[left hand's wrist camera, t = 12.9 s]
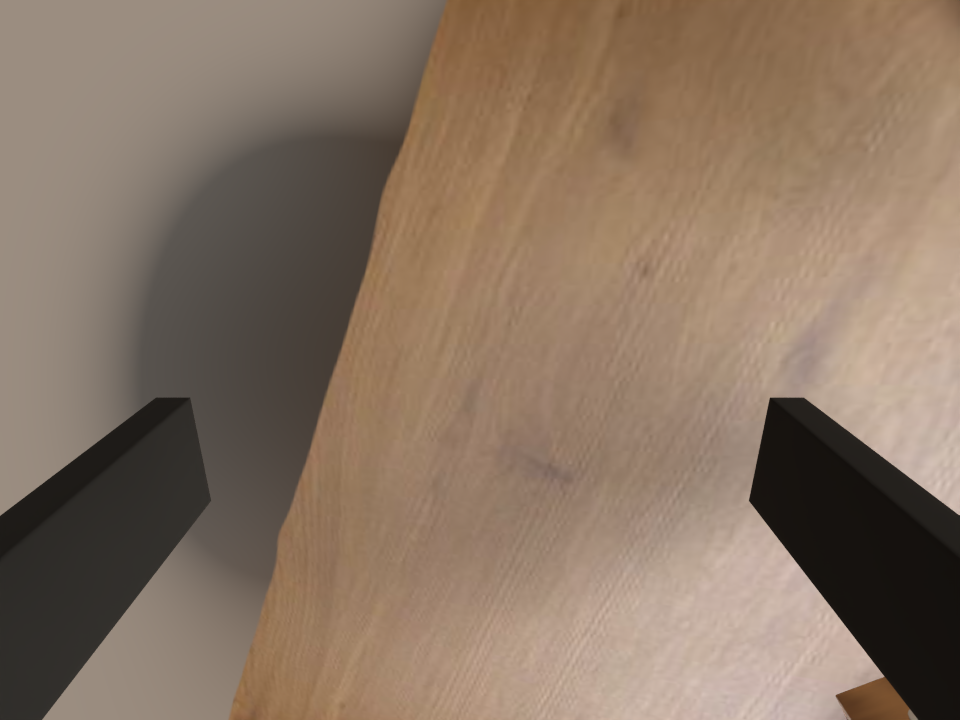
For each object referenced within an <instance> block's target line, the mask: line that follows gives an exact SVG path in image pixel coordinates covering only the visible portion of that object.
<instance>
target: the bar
mask: <svg viewBox="0 0 960 720" xmlns="http://www.w3.org/2000/svg"><path fill="white" fill-rule="evenodd" d="M836 698H837V700H838V702H839V704H840V706H841V708H842V710H843V712H844V714H845V716H846V718H847V720H910V719H909V716H908V711H909V710H910V709H909V707H908V706H907V705H906V703H905V702H904V701H903V700H902V698H901V697H900V696H899V694H898V693H897V692H896V691H895V689H894V688H893V687H892V685H891V684H890V683H889V681H888V680H887V679H886V678H885V677H883V678H880V679H878V680H875V681H872V682H870V683H867V684H864V685H862V686H859V687H856V688H853V689H851V690H848V691H845V692H843V693H840V694H837V695H836Z"/></svg>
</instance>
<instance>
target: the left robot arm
mask: <svg viewBox="0 0 960 720" xmlns="http://www.w3.org/2000/svg"><path fill="white" fill-rule="evenodd" d="M210 501H211V498H210V494H209V489H208V484H207V479H206V474H205V469H204V464H203V459H202V454H201V449H200V444H199V440H198V435H197V430H196V425H195V420H194V415H193V410H192V405H191V400H190V398H155V399H154V400H153V401H151V402H150V403H149V404H147V405H146V406H145V407H143V408H142V409H141V410H139V411H138V412H137V413H135V414H134V415H133V416H131V417H130V418H129V419H127V420H126V421H125V422H123V423H122V424H121V425H120V426H118V427H117V428H116V429H114V430H113V431H112V432H110V433H109V434H108V435H106V436H105V437H104V438H102V439H101V440H100V441H98V442H97V443H96V444H95V445H93V446H92V447H91V448H89V449H88V450H87V451H85V452H84V453H83V454H81V455H80V456H79V457H77V458H76V459H75V460H73V461H72V462H71V463H69V464H68V465H67V466H65V467H64V468H63V469H61V470H60V471H59V472H58V473H56V474H55V475H54V476H52V477H51V478H50V479H48V480H47V481H46V482H44V483H43V484H42V485H40V486H39V487H38V488H36V489H35V490H34V491H33V492H31V493H30V494H28V495H27V496H26V497H25V498H23V499H22V500H21V501H19V502H18V503H17V504H15V505H14V506H13V507H11V508H10V509H9V510H7V511H6V512H5V513H4V514H2V515H1V516H0V720H42V719H43V718H44V716H45V715H46V714H47V713H48V711H49V710H50V709H51V707H52V706H53V705H54V703H55V702H56V701H57V699H58V698H59V697H60V696H61V694H62V693H63V692H64V690H65V689H66V688H67V687H68V685H69V684H70V683H71V681H72V680H73V679H74V678H75V676H76V675H77V674H78V672H79V671H80V670H81V668H82V667H83V666H84V664H85V663H86V662H87V661H88V659H89V658H90V657H91V656H92V654H93V653H94V652H95V650H96V649H97V648H98V646H99V645H100V644H101V643H102V641H103V640H104V639H105V637H106V636H107V635H108V634H109V632H110V631H111V630H112V628H113V627H114V626H115V624H116V623H117V622H118V620H119V619H120V618H121V617H122V615H123V614H124V613H125V611H126V610H127V609H128V608H129V606H130V605H131V604H132V602H133V601H134V600H135V598H136V597H137V596H138V595H139V593H140V592H141V591H142V589H143V588H144V587H145V586H146V584H147V583H148V582H149V580H150V579H151V578H152V576H153V575H154V574H155V573H156V571H157V570H158V569H159V567H160V566H161V565H162V564H163V562H164V561H165V560H166V558H167V557H168V556H169V554H170V553H171V552H172V551H173V549H174V548H175V547H176V545H177V544H178V543H179V542H180V540H181V539H182V538H183V536H184V535H185V534H186V532H187V531H188V530H189V528H190V527H191V526H192V525H193V523H194V522H195V521H196V519H197V518H198V517H199V516H200V514H201V513H202V512H203V510H204V509H205V508H206V507H207V505H208V504H209V503H210ZM749 501H750V503H751V504H752V505H753V507H754V508H755V509H756V510H757V512H758V513H759V514H760V516H761V517H762V518H763V520H764V521H765V522H766V523H767V525H768V526H769V527H770V529H771V530H772V531H773V532H774V534H775V535H776V536H777V538H778V539H779V540H780V542H781V543H782V544H783V545H784V547H785V548H786V549H787V551H788V552H789V553H790V554H791V556H792V557H793V558H794V560H795V561H796V562H797V564H798V565H799V566H800V567H801V569H802V570H803V571H804V573H805V574H806V575H807V577H808V578H809V579H810V580H811V582H812V583H813V584H814V586H815V587H816V588H817V589H818V591H819V592H820V593H821V595H822V596H823V597H824V599H825V600H826V601H827V602H828V604H829V605H830V606H831V608H832V609H833V610H834V611H835V613H836V614H837V615H838V617H839V618H840V619H841V621H842V622H843V623H844V624H845V626H846V627H847V628H848V630H849V631H850V632H851V634H852V635H853V636H854V637H855V639H856V640H857V641H858V643H859V644H860V645H861V646H862V648H863V649H864V650H865V652H866V653H867V654H868V656H869V657H870V658H871V659H872V661H873V662H874V663H875V665H876V666H877V667H878V668H879V670H880V671H881V672H882V674H883V675H884V676H885V678H886V679H887V680H888V681H889V683H890V684H891V685H892V687H893V688H894V689H895V691H896V692H897V693H898V694H899V696H900V697H901V698H902V700H903V701H904V702H905V703H906V705H907V706H908V707H909V709H910V710H911V711H912V713H913V714H914V715H915V716H916V718H917V719H918V720H960V515H958V514H957V513H955V512H954V511H953V510H951V509H950V508H949V507H947V506H946V505H945V504H943V503H942V502H941V501H939V500H938V499H937V498H935V497H934V496H933V495H932V494H930V493H929V492H928V491H926V490H925V489H924V488H922V487H921V486H920V485H918V484H917V483H916V482H914V481H913V480H912V479H910V478H909V477H908V476H906V475H905V474H904V473H902V472H901V471H900V470H899V469H897V468H896V467H895V466H893V465H892V464H891V463H889V462H888V461H887V460H885V459H884V458H883V457H881V456H880V455H879V454H877V453H876V452H875V451H873V450H872V449H871V448H869V447H868V446H867V445H866V444H864V443H863V442H862V441H860V440H859V439H858V438H856V437H855V436H854V435H852V434H851V433H850V432H848V431H847V430H846V429H844V428H843V427H842V426H840V425H839V424H838V423H837V422H835V421H834V420H833V419H831V418H830V417H829V416H827V415H826V414H825V413H823V412H822V411H821V410H819V409H818V408H817V407H815V406H814V405H813V404H811V403H810V402H809V401H807V400H806V399H805V398H770V400H769V405H768V410H767V415H766V420H765V425H764V430H763V435H762V439H761V444H760V449H759V454H758V459H757V464H756V469H755V474H754V479H753V484H752V489H751V493H750V498H749Z"/></svg>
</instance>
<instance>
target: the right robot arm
mask: <svg viewBox="0 0 960 720" xmlns="http://www.w3.org/2000/svg"><path fill="white" fill-rule="evenodd" d="M908 716H909V719H910V720H918V719H917V718H916V716H915V715H914V714H913V713H912V711H911V710H909V711H908Z"/></svg>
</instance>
